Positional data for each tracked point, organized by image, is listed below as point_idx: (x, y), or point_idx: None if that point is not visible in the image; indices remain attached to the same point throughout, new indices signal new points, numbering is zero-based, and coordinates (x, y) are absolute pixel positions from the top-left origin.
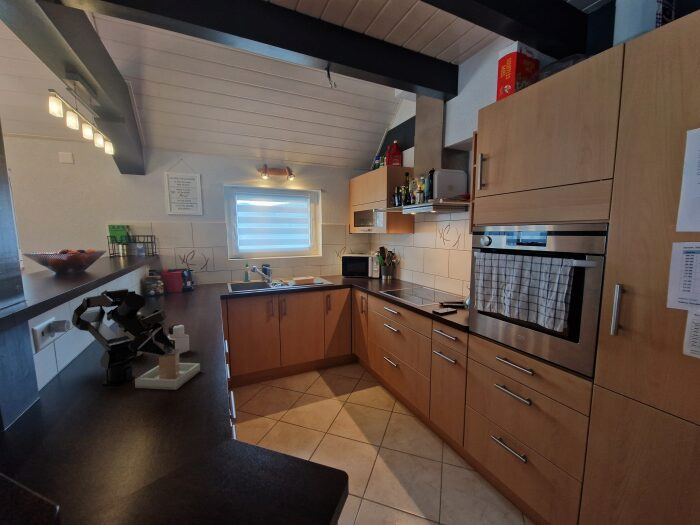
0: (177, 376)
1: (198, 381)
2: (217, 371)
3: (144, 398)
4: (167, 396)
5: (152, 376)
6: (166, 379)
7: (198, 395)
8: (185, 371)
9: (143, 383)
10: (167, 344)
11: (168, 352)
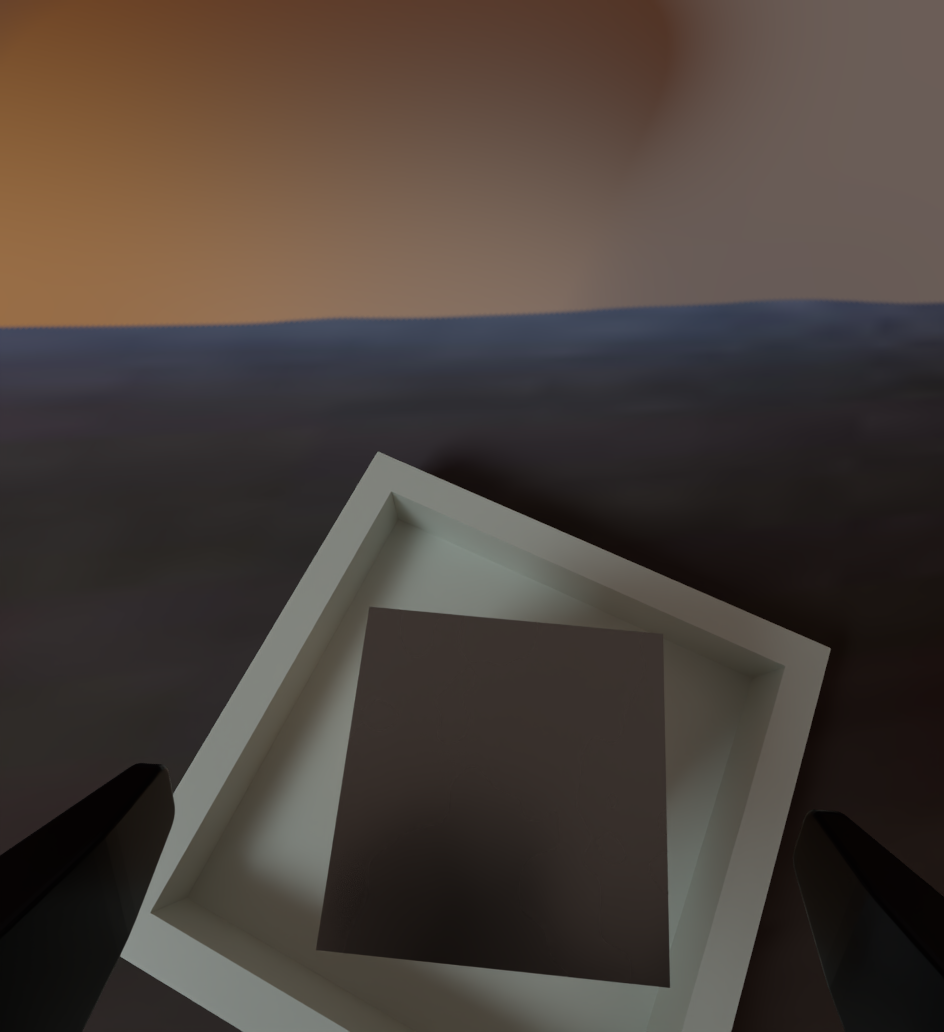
0: None
1: (636, 487)
2: (454, 348)
3: None
4: (915, 727)
5: (399, 1023)
6: (771, 768)
7: (924, 465)
8: None
9: None
10: (132, 891)
11: (528, 791)
